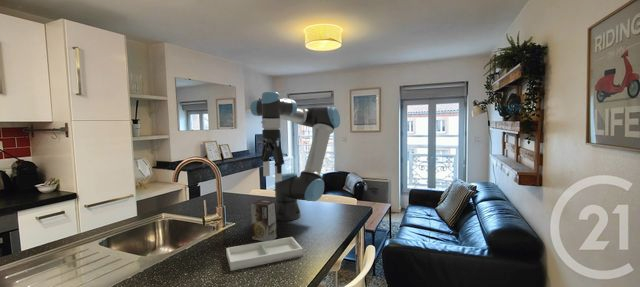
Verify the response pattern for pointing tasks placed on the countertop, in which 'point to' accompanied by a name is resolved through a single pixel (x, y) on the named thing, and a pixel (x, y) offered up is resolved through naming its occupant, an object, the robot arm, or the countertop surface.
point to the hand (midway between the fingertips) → (272, 178)
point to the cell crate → (263, 253)
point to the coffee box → (263, 220)
